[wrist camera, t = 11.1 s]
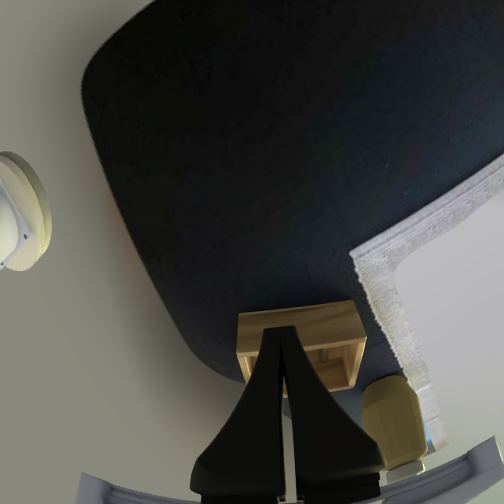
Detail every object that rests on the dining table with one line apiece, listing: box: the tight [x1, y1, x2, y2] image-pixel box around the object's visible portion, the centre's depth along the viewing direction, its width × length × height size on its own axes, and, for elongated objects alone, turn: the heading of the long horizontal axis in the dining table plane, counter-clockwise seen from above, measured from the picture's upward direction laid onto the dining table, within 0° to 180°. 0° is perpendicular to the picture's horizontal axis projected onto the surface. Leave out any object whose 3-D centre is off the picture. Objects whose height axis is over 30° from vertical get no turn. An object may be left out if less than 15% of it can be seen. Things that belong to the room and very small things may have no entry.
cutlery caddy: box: [236, 300, 366, 398], centre depth 24 cm, size 8×10×4 cm
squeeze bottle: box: [361, 375, 428, 484], centre depth 24 cm, size 8×8×18 cm
